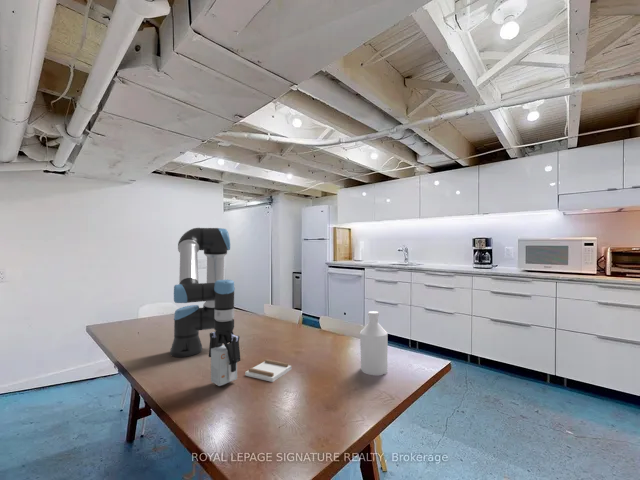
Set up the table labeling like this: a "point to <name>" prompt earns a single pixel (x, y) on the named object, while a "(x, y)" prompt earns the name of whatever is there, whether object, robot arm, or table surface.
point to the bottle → (373, 346)
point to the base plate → (269, 370)
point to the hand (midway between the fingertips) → (224, 377)
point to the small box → (220, 366)
